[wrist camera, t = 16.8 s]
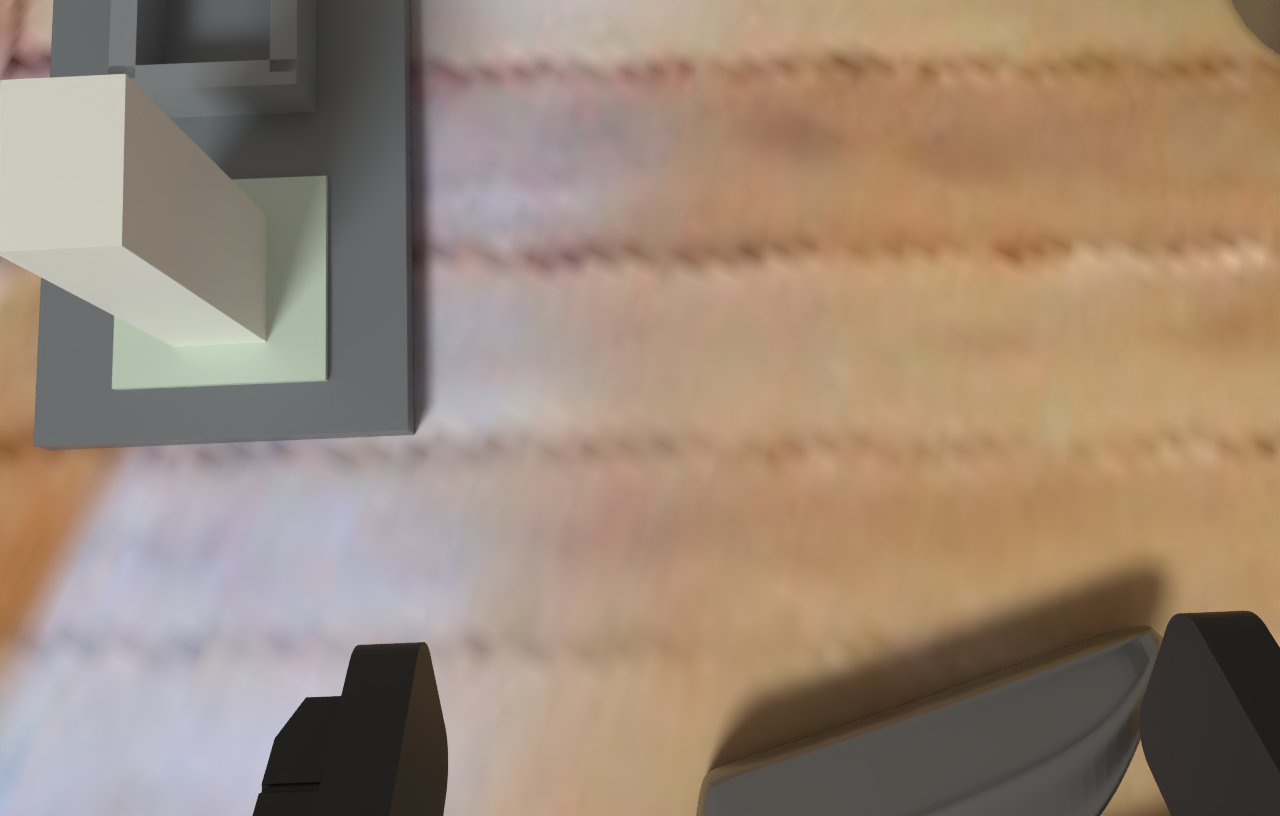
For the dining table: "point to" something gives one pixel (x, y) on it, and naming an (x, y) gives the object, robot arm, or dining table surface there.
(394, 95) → the grey socket base
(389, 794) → the robot arm
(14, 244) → the cream rectangular block
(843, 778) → the emblem
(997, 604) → the dining table surface
